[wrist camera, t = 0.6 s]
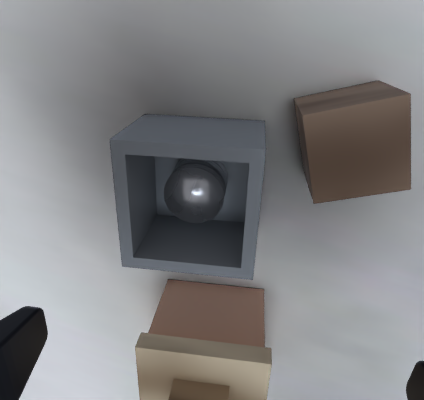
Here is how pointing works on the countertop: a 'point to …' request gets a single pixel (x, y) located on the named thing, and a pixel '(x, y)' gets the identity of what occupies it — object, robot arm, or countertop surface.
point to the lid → (200, 369)
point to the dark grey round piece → (196, 189)
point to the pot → (211, 313)
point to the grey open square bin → (157, 209)
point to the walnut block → (355, 141)
